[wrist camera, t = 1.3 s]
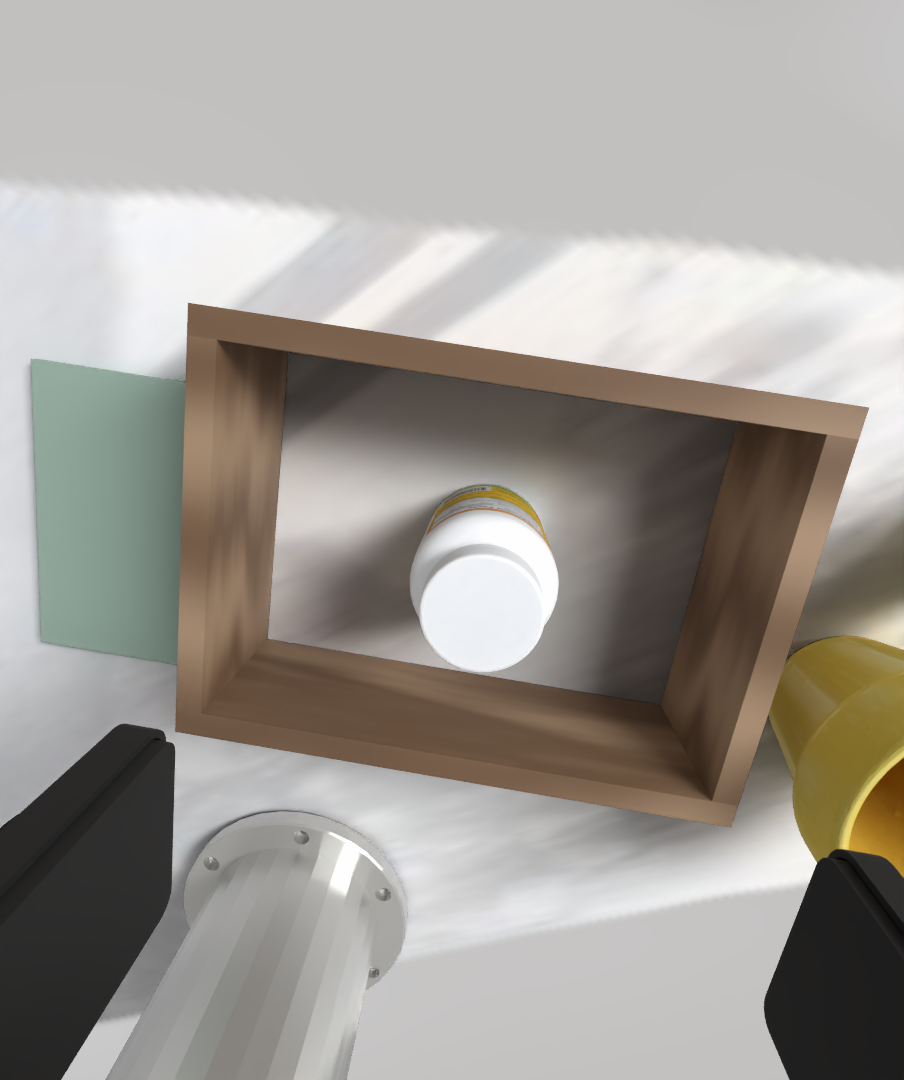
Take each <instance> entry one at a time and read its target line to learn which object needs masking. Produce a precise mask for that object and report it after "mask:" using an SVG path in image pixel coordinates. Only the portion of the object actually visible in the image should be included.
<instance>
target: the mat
mask: <svg viewBox="0 0 904 1080" xmlns="http://www.w3.org/2000/svg"><path fill="white" fill-rule="evenodd" d="M31 379H32V406H33V433H34V460H35V487H36V514H37V541H38V568H39V595H40V622H41V642H45V643H51V644H57V645H63V646H68V647H74V648H80V649H86V650H92V651H98V652H104V653H110V654H116V655H121V656H127V657H133V658H139V659H145V660H151V661H157V662H163V663H169V664H175V665H177V660H178V627H179V593H180V559H181V526H182V492H183V458H184V424H185V391H186V382H180V381H173V380H167V379H161V378H154V377H148V376H142V375H135V374H129V373H123V372H116V371H110V370H104V369H97V368H91V367H84V366H78V365H72V364H65V363H59V362H53V361H46V360H40V359H31Z"/></svg>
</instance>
